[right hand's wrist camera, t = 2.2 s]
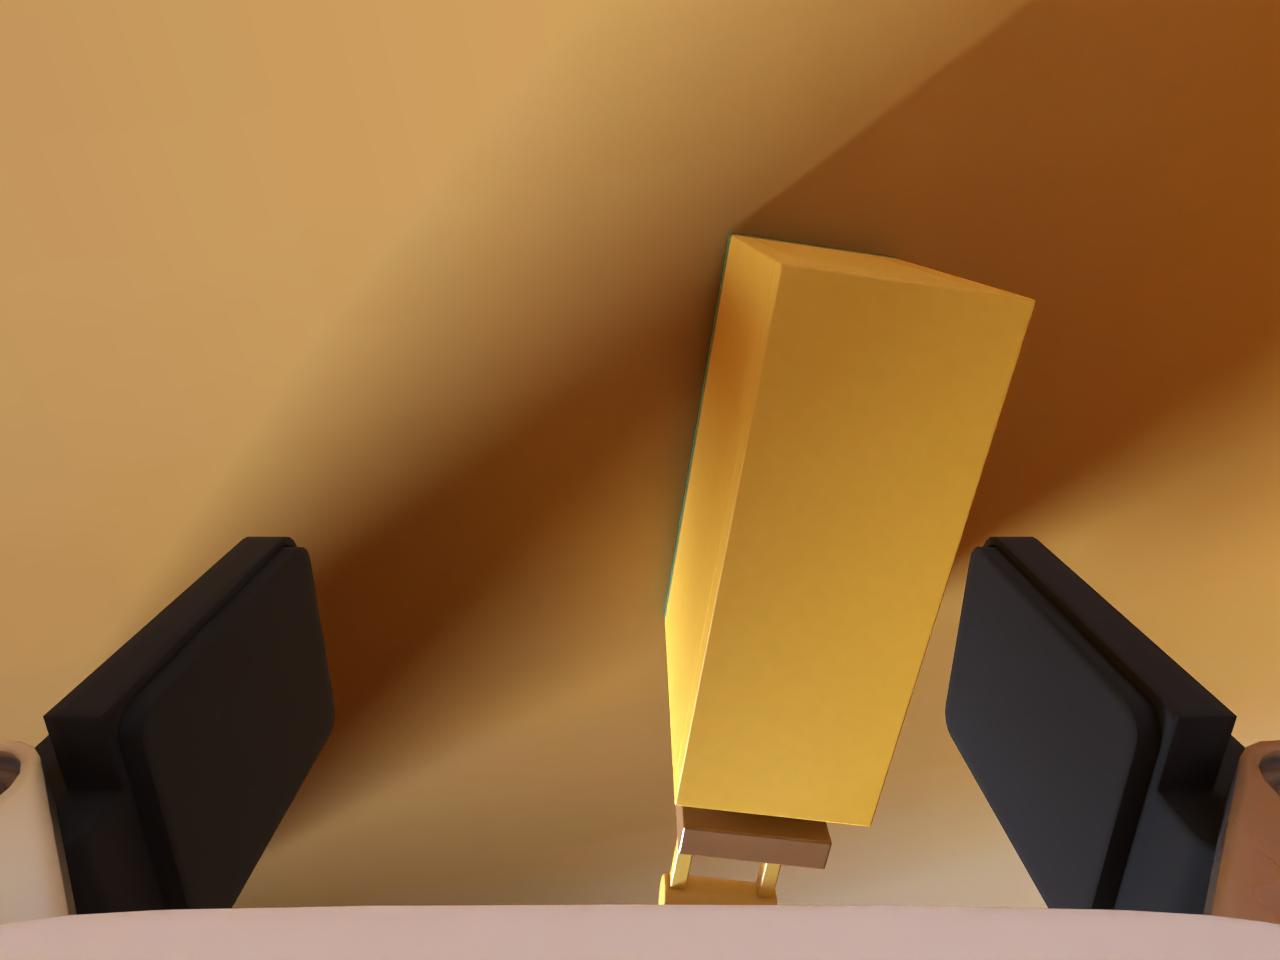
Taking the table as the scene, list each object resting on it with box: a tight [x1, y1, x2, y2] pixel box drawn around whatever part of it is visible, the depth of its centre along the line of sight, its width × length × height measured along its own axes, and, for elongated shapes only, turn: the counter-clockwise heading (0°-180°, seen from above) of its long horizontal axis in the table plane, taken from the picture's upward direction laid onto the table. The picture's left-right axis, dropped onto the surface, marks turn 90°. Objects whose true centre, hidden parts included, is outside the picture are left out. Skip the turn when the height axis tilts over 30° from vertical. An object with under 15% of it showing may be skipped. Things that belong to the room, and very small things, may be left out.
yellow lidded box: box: [664, 233, 1036, 826], centre depth 27 cm, size 16×6×12 cm, turn 172°
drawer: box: [659, 805, 832, 905], centre depth 29 cm, size 21×5×10 cm, turn 172°
